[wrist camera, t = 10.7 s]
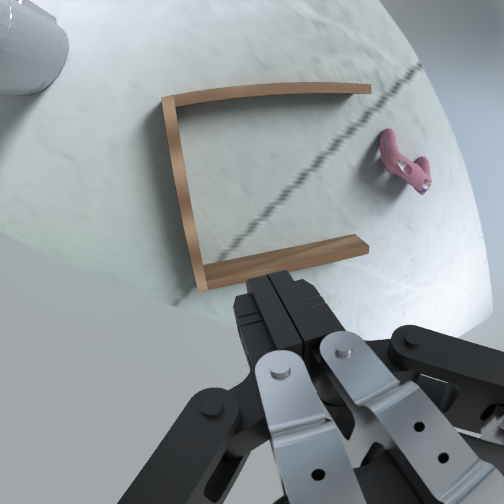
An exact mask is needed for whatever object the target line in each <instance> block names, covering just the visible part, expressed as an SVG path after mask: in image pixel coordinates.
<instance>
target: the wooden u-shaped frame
mask: <svg viewBox="0 0 504 504" xmlns="http://www.w3.org/2000/svg"><path fill="white" fill-rule="evenodd" d="M312 93H341V94H372V93H371V84H357V83H333V82H296V83H271V84H256V85H244V86H234V87H225V88H216V89H209V90H202V91H195V92H189V93H183V94H177V95H172V96H166V97H161V99H162V106H163V113H164V120H165V126H166V133H167V139H168V145H169V151H170V157H171V163H172V169H173V174H174V180H175V185H176V191H177V196H178V201H179V206H180V211H181V216H182V221H183V226H184V231H185V235H186V240H187V245H188V249H189V254H190V258H191V263H192V267H193V272H194V276H195V280H196V284H197V288H198V292H200V291H205V290H210V289H215V288H219V287H224V286H229V285H234V284H238V283H243V282H246V279H250V278H254V277H258V276H262V275H267V274H270V273H274V272H278V271H282V270H287V271H288V272H293V271H297V270H302V269H306V268H310V267H315V266H319V265H323V264H328V263H332V262H336V261H340V260H344V259H349V258H353V257H357V256H361V255H365V254H369V245H368V244H366V243H365V242H364V241H363V240H361V239H360V238H359V237H358V236H356V235H355V234H353V235H348V236H344V237H339V238H334V239H329V240H324V241H319V242H315V243H310V244H305V245H300V246H295V247H290V248H286V249H281V250H276V251H271V252H266V253H261V254H256V255H251V256H247V257H242V258H237V259H232V260H227V261H222V262H217V263H212V264H207V265H203V263H202V258H201V253H200V248H199V243H198V238H197V233H196V228H195V222H194V217H193V212H192V206H191V201H190V195H189V190H188V184H187V178H186V172H185V166H184V160H183V154H182V148H181V141H180V135H179V128H178V121H177V114H176V107H180V106H185V105H191V104H198V103H204V102H211V101H218V100H226V99H235V98H244V97H255V96H268V95H284V94H312Z"/></svg>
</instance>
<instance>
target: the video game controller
mask: <svg viewBox="0 0 504 504" xmlns="http://www.w3.org/2000/svg"><path fill="white" fill-rule="evenodd" d="M380 153H381V158H380V159H381V161H382V163H383V164H384V165H385V166H386V167H385V166H384V170H385V171H386V172H387V173H390V171H391V172H392V173H393V174H394V175H396V176H400V177H402V178H403V179H404V180H405V181H406V182H408V183H409V184H410V185H411V186H413V187H414V189H415V190H416V191H417V192H418V193H419V194H421V195H423V194H424V193H425V192H426V191H427V190H428V189H429V187H430V185H431V182H432V181H431V176H430V167H429V162H428V160H427V158H425V157H420V158H419V159H418V160H417V162H416V163H413V162H411V161H410V160H408V159H407V158H406V157H405V156H403V155H402V154H401V153H400V152H399V151H398V148H397V144H396V138H395V134H394V132H393V130H392V129H389V128H388V129H385V130H384V131H383V132H382V135H381V138H380Z"/></svg>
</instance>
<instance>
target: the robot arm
mask: <svg viewBox="0 0 504 504" xmlns="http://www.w3.org/2000/svg"><path fill="white" fill-rule="evenodd" d="M67 54H68V40H67V37H66V34H65V33H64V31H63V30H62V29H61V28H60V27H59V26H58V25H57V24H56V18H55V17H53V16H52V15H51V14H49V13H48V12H46V11H45V10H43V9H42V8H40V7H38V6H37V5H35V4H34V3H32V2H31V1H29V0H0V95H18V96H21V95H32V94H35V93H38V92H40V91H42V90H43V89H45V88H46V87H47V86H49V85H50V84H51V83H52V82H53V81H54V80H55V79H56V78H57V76H58V75H59V73H60V72H61V70H62V68H63V66H64V64H65V61H66V58H67ZM246 286H247V292H248V293H247V294H243V295H239V296H236V298H235V302H234V306H233V308H234V313H235V318H236V323H237V327H238V332H239V337H240V340H241V342H242V346H243V349H244V352H245V355H246V358H247V361H248V364H249V367H250V373H249V375H248V376H247V377H246V379H245V380H244V381H243V382H241V383H240V384H238V385H237V386H235V387H233V388H232V389H230V390H225V389H222V388H207V389H204V390H202V391H199V392H198V393H196V394H195V395H194V396H193V397H192V398H191V399H190V401H189V402H188V403H187V405H186V406H185V408H184V410H183V411H182V412H181V414H180V415H179V417H178V418H177V420H176V421H175V423H174V424H173V425H172V427H171V428H170V430H169V431H168V433H167V434H166V436H165V437H164V439H163V440H162V441H161V443H160V444H159V446H158V447H157V449H156V450H155V452H154V453H153V454H152V456H151V457H150V459H149V460H148V462H147V463H146V464H145V466H144V467H143V469H142V470H141V471H140V473H139V474H138V476H137V477H136V478H135V480H134V481H133V482H132V484H131V485H130V487H129V488H128V489H127V491H126V492H125V493H124V495H123V496H122V498H121V499H120V500H119V502H118V503H117V504H223V502H224V500H225V499H226V497H227V495H228V493H229V492H230V490H231V488H232V486H233V484H234V483H235V481H236V479H237V477H238V475H239V473H240V472H241V470H242V468H243V466H244V464H245V462H246V460H247V458H248V456H249V455H250V452H251V451H252V450H253V449H255V448H256V447H258V446H260V445H261V444H263V443H264V442H266V441H267V440H269V441H270V445H271V448H272V452H273V456H274V460H275V464H276V468H277V472H278V476H279V480H280V484H281V488H282V492H283V496H282V497H281V498H279V499H278V500H276V501H275V502H274V503H273V504H504V352H502V351H499V350H496V349H492V348H488V347H485V346H482V345H478V344H475V343H472V342H468V341H465V340H462V339H458V338H455V337H452V336H448V335H445V334H442V333H438V332H435V331H432V330H429V329H425V328H422V327H419V326H415V325H404V326H401V327H399V328H397V329H396V330H395V331H394V332H393V334H392V337H391V339H384V340H374V341H365V340H363V339H362V338H361V337H360V336H358V335H357V334H355V333H352V332H348V331H346V330H345V329H344V327H343V326H342V325H341V323H340V322H339V320H338V319H337V318H336V316H335V315H334V313H333V312H332V311H331V309H330V308H329V306H328V305H327V304H326V303H325V301H324V299H323V298H322V297H321V296H320V294H319V292H318V291H317V290H316V288H315V287H314V285H312V284H310V283H308V282H307V281H305V280H303V279H301V280H297V281H294V280H293V279H292V277H291V276H290V274H289V273H288V271H287V270H282V271H278V272H274V273H270V274H267V275H262V276H258V277H254V278H250V279H246ZM420 374H423V375H426V376H429V377H432V378H436V379H439V380H442V381H445V382H448V383H445V382H442V381H438V380H435V379H432V378H429V377H426V376H423V375H420ZM313 385H314V386H313ZM314 387H315V389H316V391H317V392H315V389H314ZM454 427H457V428H460V429H464V430H467V431H471V432H475V433H479V434H481V437H480V438H476V437H473V436H470V435H466V434H463V433H460V432H457V431H456V430H455V428H454Z"/></svg>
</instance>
